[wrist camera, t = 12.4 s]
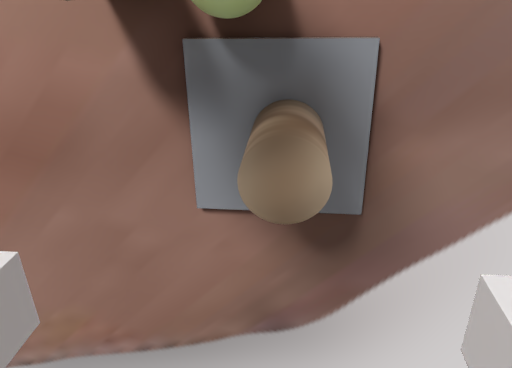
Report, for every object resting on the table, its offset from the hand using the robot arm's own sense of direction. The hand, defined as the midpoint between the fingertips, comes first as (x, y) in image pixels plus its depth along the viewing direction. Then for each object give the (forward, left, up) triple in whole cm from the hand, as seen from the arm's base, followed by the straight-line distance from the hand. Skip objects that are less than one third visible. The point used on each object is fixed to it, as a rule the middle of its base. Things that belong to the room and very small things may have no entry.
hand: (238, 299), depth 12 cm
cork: (+1, 0, -15) cm, 15 cm away
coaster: (0, 0, -16) cm, 16 cm away
